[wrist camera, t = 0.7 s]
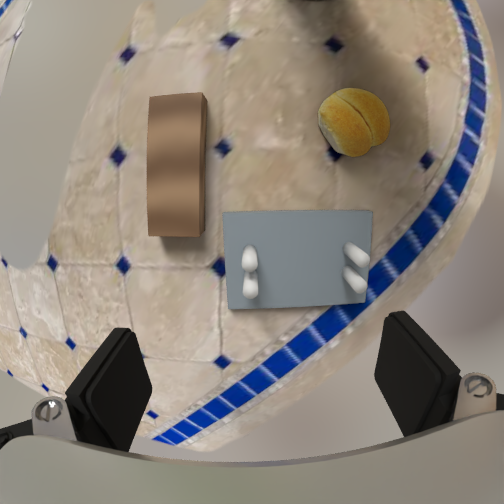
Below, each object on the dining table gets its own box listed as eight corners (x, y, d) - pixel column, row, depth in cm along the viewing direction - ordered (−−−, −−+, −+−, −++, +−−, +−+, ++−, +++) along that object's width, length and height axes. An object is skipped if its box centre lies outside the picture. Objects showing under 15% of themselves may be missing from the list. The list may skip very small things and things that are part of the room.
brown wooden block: (160, 104, 30) (149, 96, 27) (207, 101, 30) (201, 92, 27) (159, 229, 35) (148, 236, 31) (205, 229, 35) (199, 236, 31)
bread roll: (393, 133, 31) (409, 130, 27) (341, 166, 32) (352, 165, 29) (360, 80, 29) (371, 71, 25) (304, 109, 31) (311, 101, 27)
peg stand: (223, 212, 34) (217, 220, 27) (368, 210, 34) (390, 218, 27) (229, 303, 37) (224, 329, 31) (361, 297, 37) (378, 320, 30)
